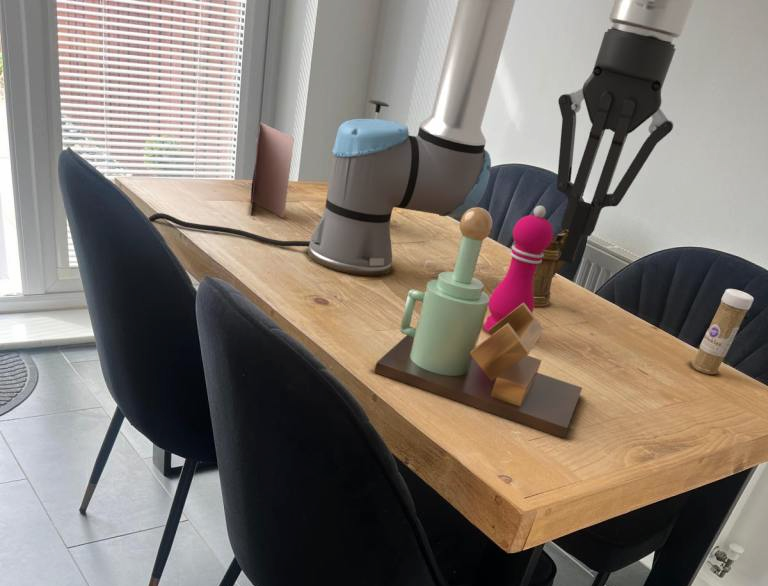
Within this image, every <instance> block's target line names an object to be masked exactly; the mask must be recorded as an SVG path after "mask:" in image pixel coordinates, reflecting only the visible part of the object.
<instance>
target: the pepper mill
mask: <svg viewBox="0 0 768 586" xmlns="http://www.w3.org/2000/svg"><path fill="white" fill-rule="evenodd" d="M546 214H547V210H546V208H545V206H543V205H537V206H535V208H534V209H533V214H529V215H525V216H523V217H521V218H519V220H518V221H517V222H516V224H515V225H514V227H513V229H512V230H513V231H512V238H513V241H514V244H513V245H512V246H511V250H510V252H509V255H510V256H511V258H510V259H511V260H510V265H509V268H508V270H507V273H506V274H505V275H504V278H502V280H501V281H500V283H499V284H498V285H497V286H496V288H494V290H493V291H492V293H491V295H490V296H489V298H490V301H489V304H488V308H487V309H488V311H489V313H490V315H488V316H487V317H486V321H485V324H484V330H485V331H486V332H487V333H488V334H490V333H489V331H488V330H489V329H490V328H491V327H492V326H494V325H495V324H496V323H498V322H499V321H500V320H501V319H503V318H504V317H505V316H507V315H508V314H509V313H511V312H512V311H513V310H514V309H516V308H517V307H518V306H520V305H521V304H522V303H525V304H526V306H527V307H528V308H529V310H530V311H531V312H532V314H534V313H533V312H534V308H535V306H534V296H533V276H534V273H535V270H536V267H537V265H538V264H539V263H541V262H542V257H543V256H544V254H543V252H542V251H543V250H544V249H546V248H547V247H548V246H549V245H550V243H551V241H552V238H554V228H553V226H552V224H551V222H549V220H547V218H545V216H546Z"/></svg>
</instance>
